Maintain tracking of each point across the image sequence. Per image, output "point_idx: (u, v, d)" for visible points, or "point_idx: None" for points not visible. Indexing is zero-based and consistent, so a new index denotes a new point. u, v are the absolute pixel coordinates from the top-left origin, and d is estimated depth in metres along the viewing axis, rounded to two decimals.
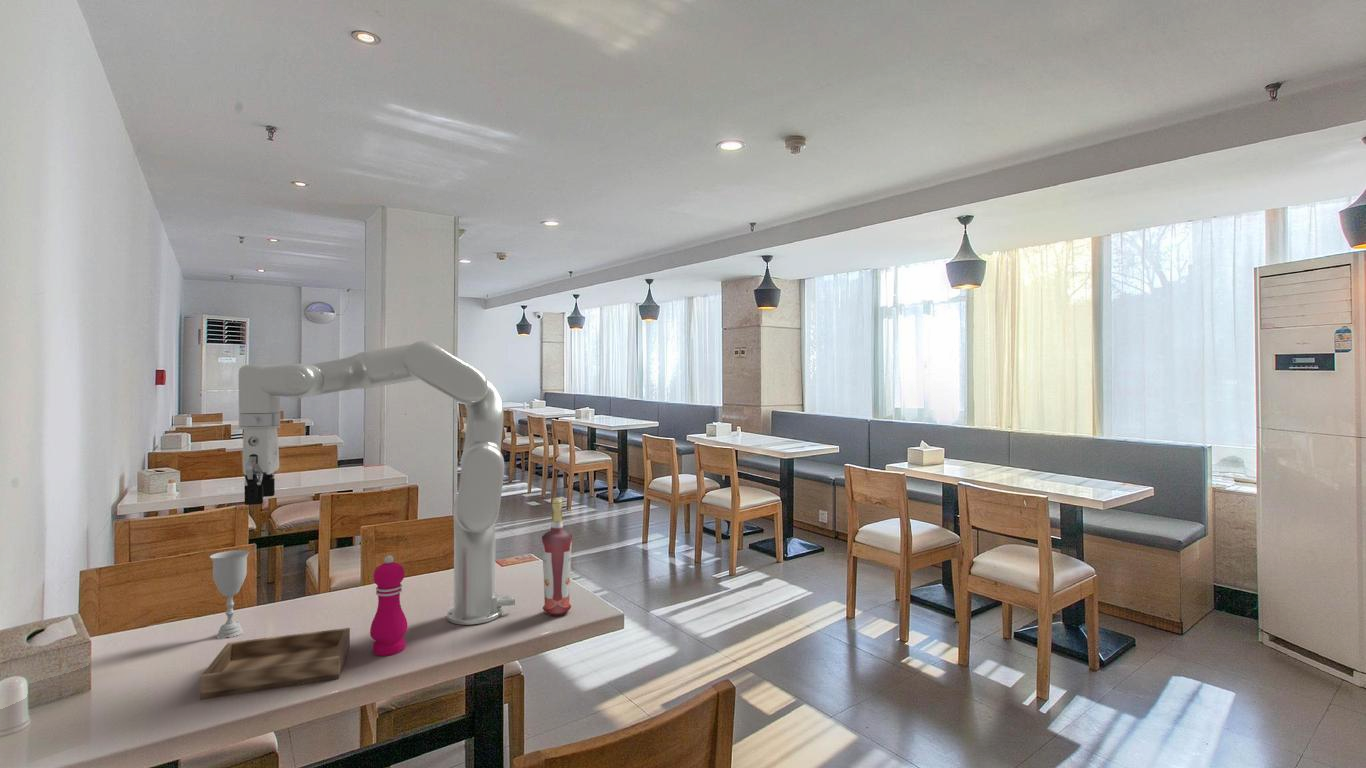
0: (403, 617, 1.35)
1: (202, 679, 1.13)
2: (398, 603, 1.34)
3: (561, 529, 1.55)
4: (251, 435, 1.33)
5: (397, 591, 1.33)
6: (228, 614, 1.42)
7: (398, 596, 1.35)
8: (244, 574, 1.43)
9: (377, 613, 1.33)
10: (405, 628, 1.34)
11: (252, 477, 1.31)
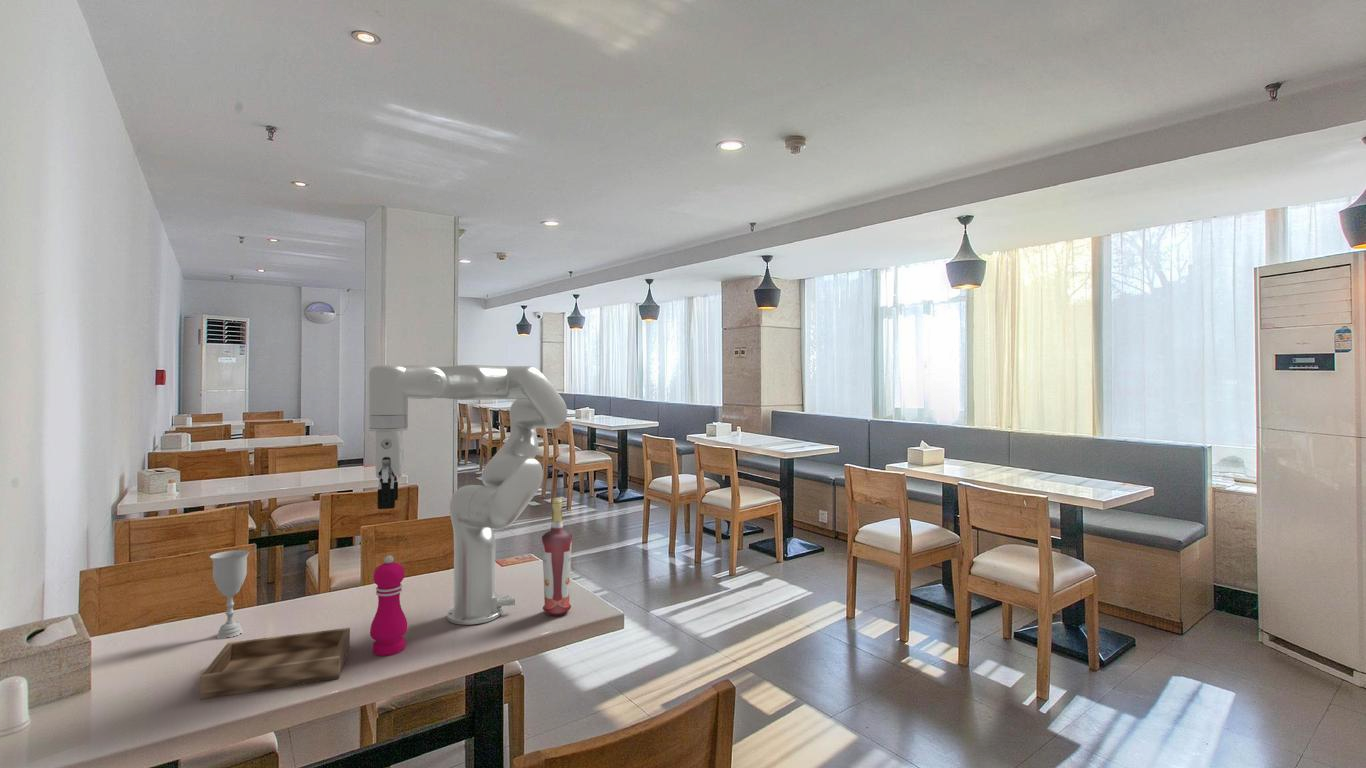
0: (403, 617, 1.35)
1: (202, 679, 1.13)
2: (398, 603, 1.34)
3: (561, 529, 1.55)
4: (384, 437, 1.30)
5: (397, 591, 1.33)
6: (228, 614, 1.42)
7: (398, 596, 1.35)
8: (244, 574, 1.43)
9: (377, 613, 1.33)
10: (405, 628, 1.34)
11: (387, 480, 1.27)
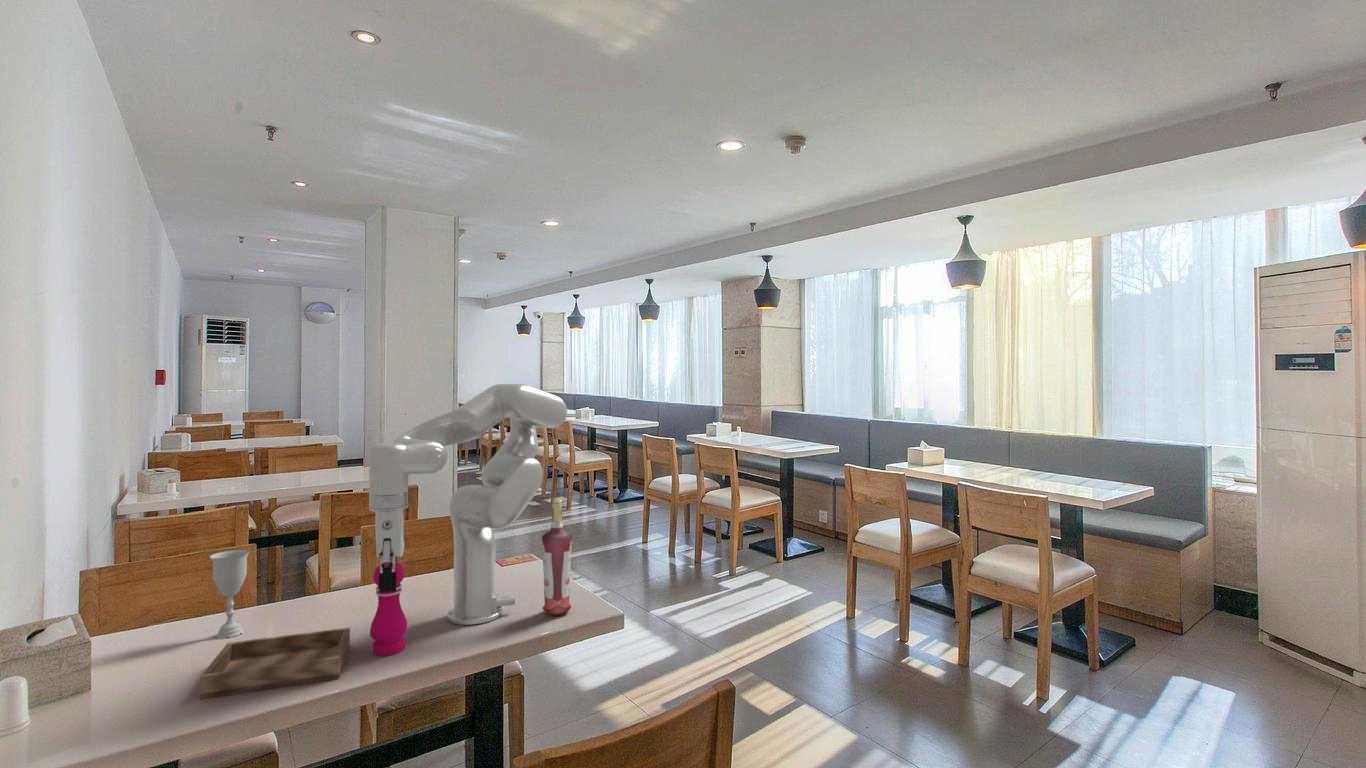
0: (403, 617, 1.35)
1: (202, 679, 1.13)
2: (398, 603, 1.34)
3: (561, 529, 1.55)
4: (384, 518, 1.30)
5: (397, 591, 1.33)
6: (228, 614, 1.42)
7: (398, 596, 1.34)
8: (244, 574, 1.43)
9: (377, 613, 1.33)
10: (405, 628, 1.34)
11: (389, 566, 1.29)
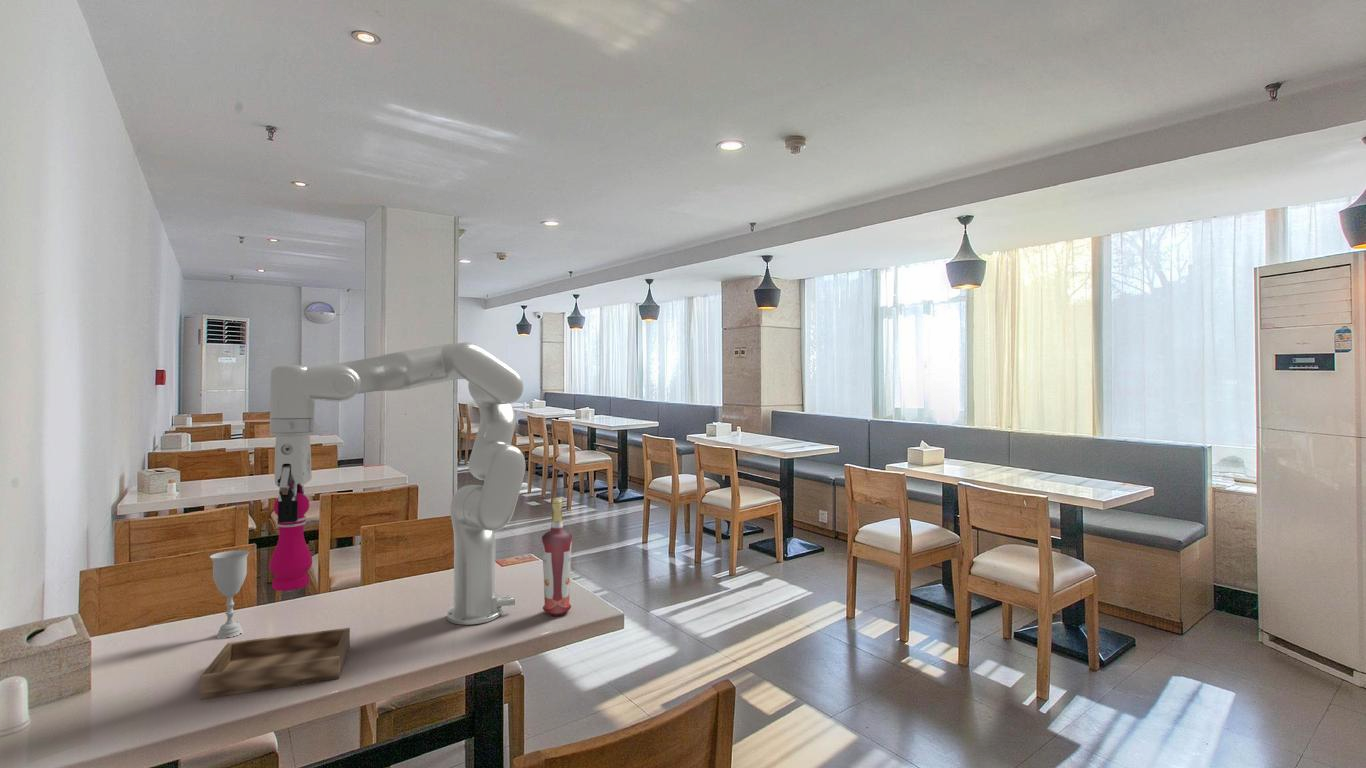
0: (306, 551, 1.26)
1: (202, 679, 1.13)
2: (301, 536, 1.25)
3: (561, 529, 1.55)
4: (284, 442, 1.21)
5: (299, 522, 1.25)
6: (228, 614, 1.42)
7: (302, 529, 1.26)
8: (244, 574, 1.43)
9: (277, 546, 1.24)
10: (308, 563, 1.25)
11: (287, 493, 1.20)
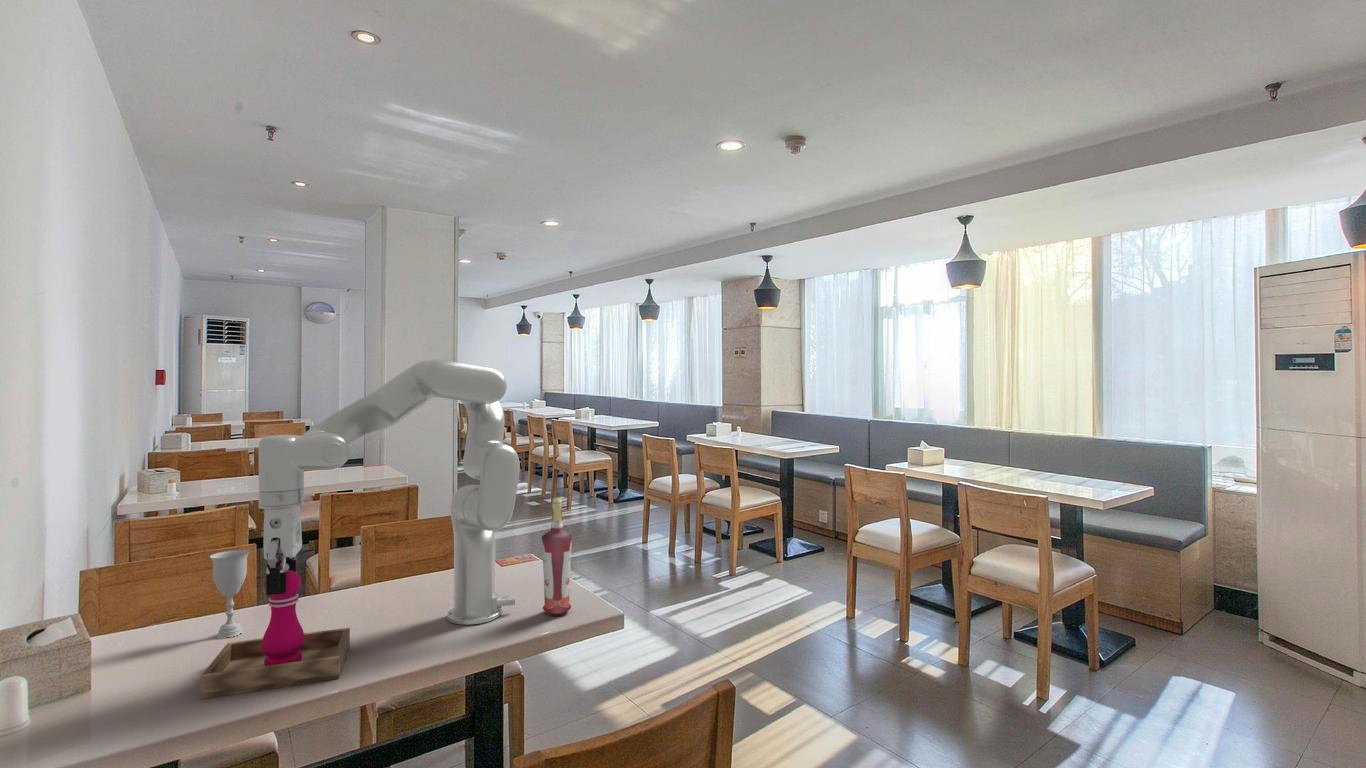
0: (299, 629, 1.25)
1: (202, 679, 1.13)
2: (293, 614, 1.25)
3: (561, 529, 1.55)
4: (273, 516, 1.20)
5: (292, 602, 1.24)
6: (228, 614, 1.42)
7: (294, 607, 1.25)
8: (244, 574, 1.43)
9: (269, 625, 1.23)
10: (301, 641, 1.25)
11: (275, 565, 1.18)
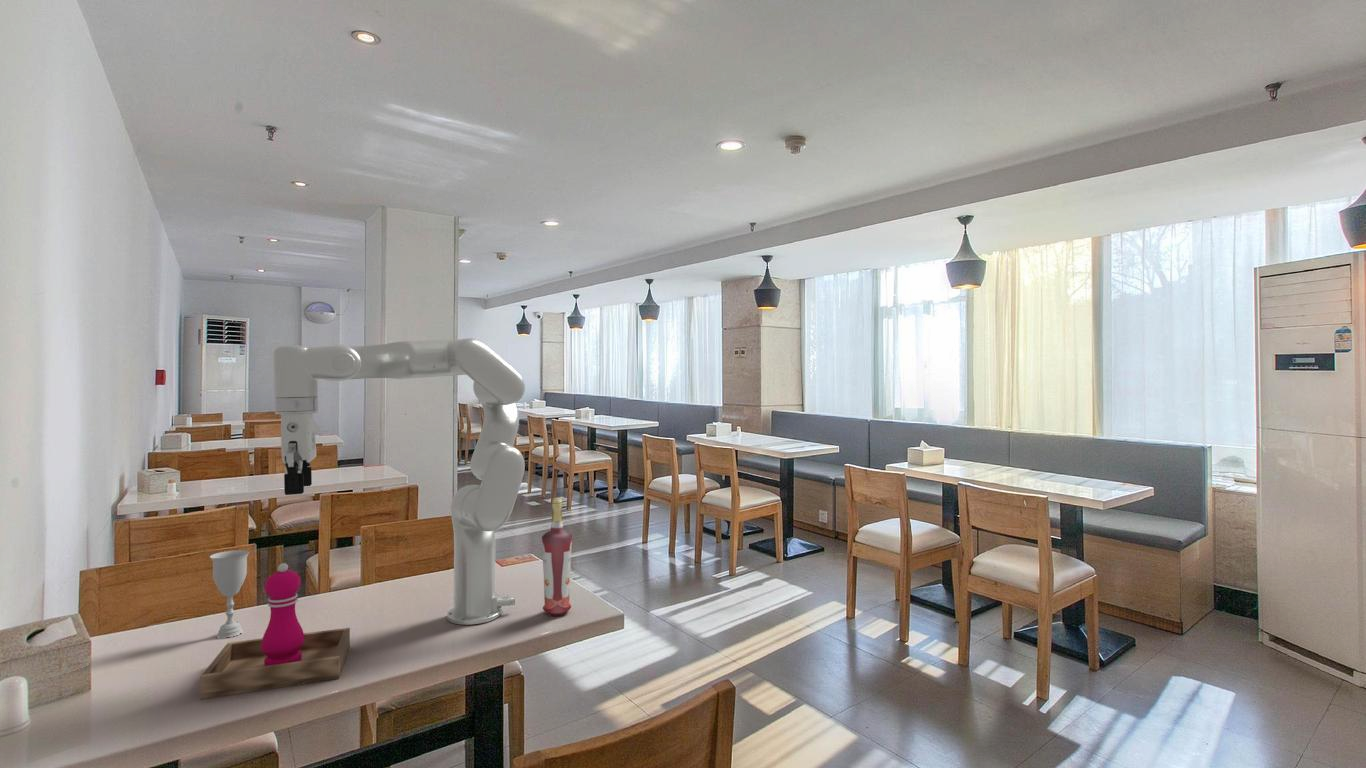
0: (298, 629, 1.25)
1: (202, 679, 1.13)
2: (293, 614, 1.25)
3: (561, 529, 1.55)
4: (290, 420, 1.25)
5: (291, 602, 1.24)
6: (228, 614, 1.42)
7: (293, 607, 1.25)
8: (244, 574, 1.43)
9: (269, 625, 1.23)
10: (300, 641, 1.25)
11: (293, 464, 1.22)
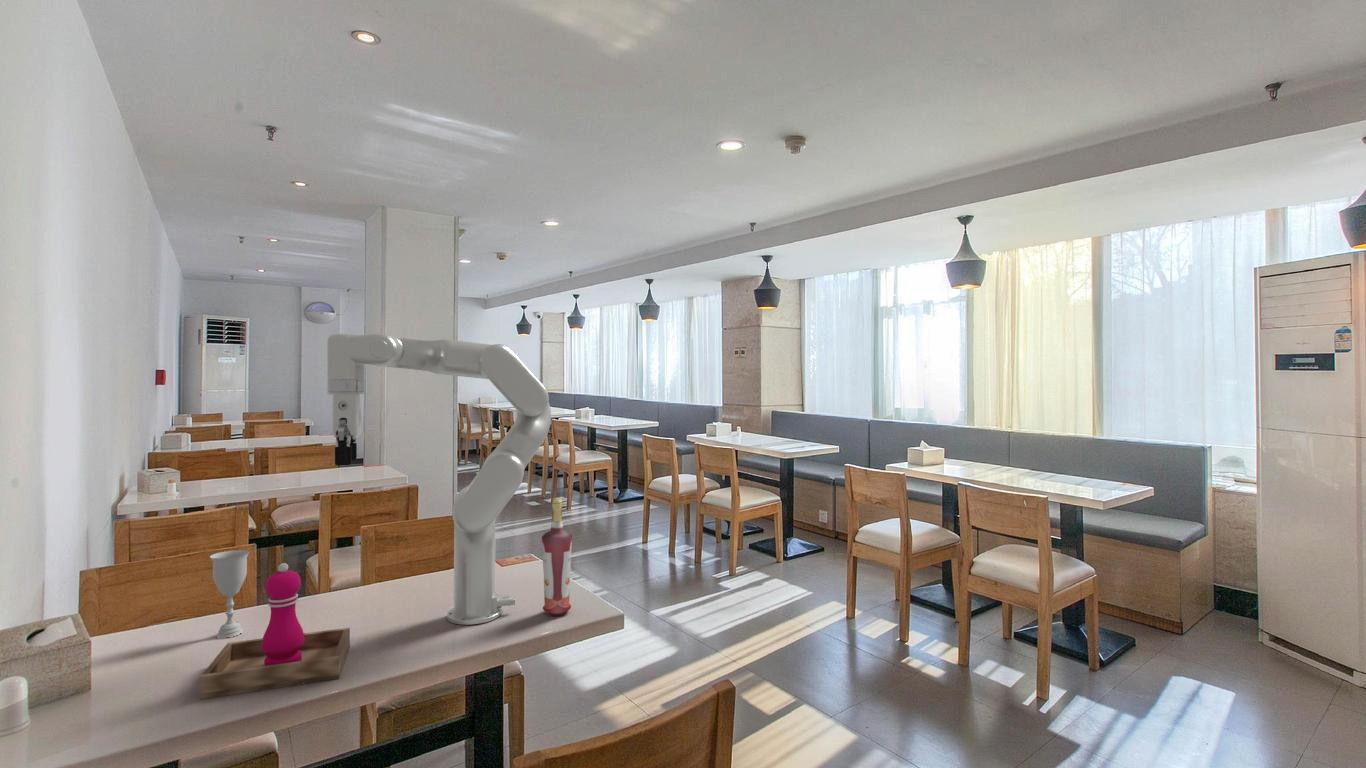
0: (299, 629, 1.25)
1: (202, 679, 1.13)
2: (293, 614, 1.25)
3: (561, 529, 1.55)
4: (341, 400, 1.41)
5: (291, 602, 1.24)
6: (228, 614, 1.42)
7: (293, 607, 1.25)
8: (244, 574, 1.43)
9: (269, 625, 1.23)
10: (300, 641, 1.25)
11: (343, 438, 1.39)
